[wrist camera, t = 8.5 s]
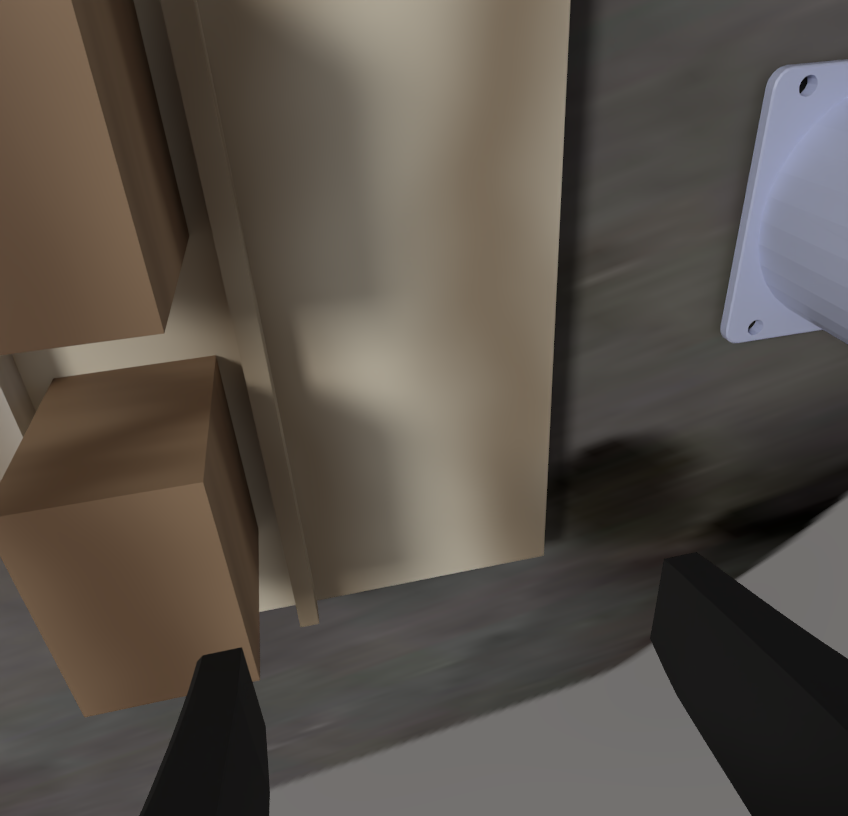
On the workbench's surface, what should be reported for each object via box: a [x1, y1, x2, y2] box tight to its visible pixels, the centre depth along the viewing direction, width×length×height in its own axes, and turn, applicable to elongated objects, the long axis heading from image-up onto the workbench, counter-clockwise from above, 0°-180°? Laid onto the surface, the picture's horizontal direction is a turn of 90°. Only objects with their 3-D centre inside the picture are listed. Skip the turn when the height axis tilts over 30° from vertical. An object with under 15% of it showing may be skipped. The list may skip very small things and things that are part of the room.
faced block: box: [0, 355, 260, 717], centre depth 17 cm, size 4×6×6 cm
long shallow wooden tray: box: [0, 0, 570, 627], centre depth 16 cm, size 15×28×2 cm, turn 4°
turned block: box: [0, 0, 189, 355], centre depth 12 cm, size 4×6×6 cm
